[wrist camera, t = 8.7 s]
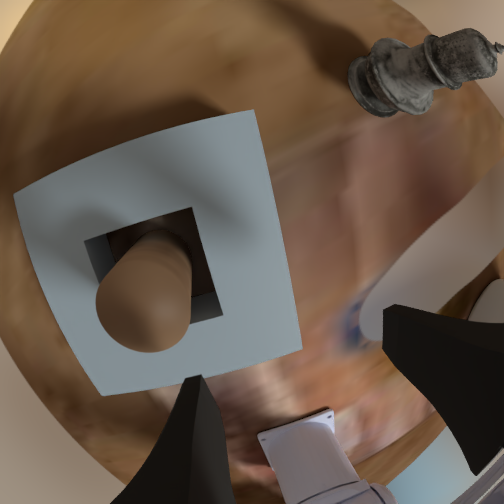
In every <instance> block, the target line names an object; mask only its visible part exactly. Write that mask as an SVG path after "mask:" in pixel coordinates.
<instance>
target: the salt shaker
mask: <svg viewBox="0 0 504 504" xmlns="http://www.w3.org/2000/svg"><path fill="white" fill-rule="evenodd" d="M503 51H504V46H503V45H501V44H498V43H497V42H495V45H492V44H491V43H490V42H489V41H488V40H487V39H486V38H485V37H484V36H483V35H482V34H481V33H480V32H478V31H477V30H474V29H471V28H467V29H462V30H459V31H456V32H453V33H451V34H448V35H445V36H442V37H440V38H439V37H438V36H435V35H428V36H426V37H425V39H424V43H421V44H419V45H417V46H414V47H412V48H410V47H409V46H407V45H406V44H405V43H403V42H401V41H399V40H396V39H392V38H382V39H380V40H378V41H377V42H375V43H374V45H373V47H372V48H371V52H370V53H369V55H368V56H362V57H358V58H356V59H355V60H354V61H352V63H351V64H350V66H349V69H348V83H349V86H350V89H351V91H352V93H353V95H354V97H355V99H356V100H357V101H358V102H359V104H360V105H361V106H362V107H363V108H364V109H365V110H367V111H368V112H370V113H371V114H373V115H375V116H379V117H390V116H392V115H395V114H396V113H397V112H398V111H402V112H406V113H409V114H411V115H421V114H423V113H425V112H427V110H428V109H429V108H430V107H431V104H432V101H433V92H434V91H433V90H435V89H439V88H443V87H448V88H450V89H451V90H458V89H460V87H461V86H462V82H466V81H471V80H477V79H483V78H489V77H492V76H493V75H495V73H496V71H497V53H500V54H502V52H503Z"/></svg>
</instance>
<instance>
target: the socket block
mask: <svg viewBox="0 0 504 504" xmlns="http://www.w3.org/2000/svg"><path fill="white" fill-rule="evenodd" d="M13 196H14V201H15V205H16V209H17V214H18V218H19V221H20V225H21V229H22V232H23V236H24V239H25V243H26V246H27V249H28V252H29V255H30V258H31V261H32V264H33V266H34V269H35V272H36V274H37V277H38V280H39V282H40V285H41V287H42V289H43V292H44V294H45V296H46V299H47V301H48V303H49V305H50V308H51V310H52V312H53V314H54V316H55V318H56V320H57V322H58V324H59V326H60V328H61V330H62V332H63V334H64V336H65V338H66V339H67V341H68V343H69V345H70V347H71V348H72V350H73V352H74V354H75V355H76V357H77V359H78V360H79V362H80V364H81V365H82V367H83V368H84V370H85V372H86V373H87V375H88V376H89V378H90V379H91V381H92V382H93V384H94V385H95V387H96V388H97V390H98V391H99V393H100V394H101V395H102V396H107V395H115V394H123V393H130V392H137V391H143V390H149V389H155V388H160V387H165V386H171V385H176V384H180V383H183V381H184V379H185V378H187V377H192V376H196V375H200V374H202V376H203V378H207V377H211V376H215V375H219V374H223V373H227V372H231V371H234V370H238V369H241V368H245V367H248V366H252V365H255V364H259V363H262V362H265V361H268V360H271V359H275V358H278V357H281V356H284V355H287V354H290V353H293V352H295V351H298V350H301V349H303V347H302V341H301V335H300V329H299V324H298V318H297V312H296V306H295V301H294V295H293V290H292V284H291V279H290V274H289V268H288V263H287V258H286V253H285V248H284V243H283V238H282V233H281V228H280V223H279V218H278V214H277V209H276V204H275V199H274V195H273V190H272V186H271V181H270V177H269V172H268V168H267V163H266V159H265V155H264V150H263V146H262V142H261V138H260V133H259V129H258V125H257V121H256V117H255V113H254V110H248V111H242V112H237V113H232V114H227V115H222V116H217V117H212V118H208V119H204V120H199V121H195V122H191V123H187V124H183V125H180V126H176V127H172V128H169V129H165V130H162V131H158V132H155V133H152V134H149V135H146V136H143V137H139V138H136V139H134V140H131V141H128V142H125V143H122V144H119V145H117V146H114V147H111V148H109V149H106V150H103V151H101V152H98V153H96V154H94V155H91V156H89V157H86V158H84V159H82V160H79V161H77V162H75V163H73V164H70V165H68V166H66V167H64V168H62V169H60V170H58V171H56V172H54V173H52V174H50V175H48V176H46V177H44V178H42V179H40V180H38V181H36V182H34V183H32V184H30V185H29V186H27V187H25V188H23V189H22V190H20V191H18V192H16V193H15V194H13ZM189 207H192V209H193V212H194V216H195V220H196V224H197V227H198V231H199V234H200V238H201V242H202V245H203V249H204V252H205V256H206V259H207V263H208V266H209V269H210V273H211V276H212V279H213V283H214V286H215V289H216V291H214V292H211V293H207V294H204V295H200V296H196V297H193V298H191V318H190V324H189V327H188V330H187V332H186V333H185V335H184V336H183V338H182V339H181V340H180V341H179V342H178V343H177V344H175V345H174V346H173V347H171V348H169V349H166V350H164V351H160V352H154V353H144V352H138V351H134V350H131V349H128V348H126V347H124V346H122V345H121V344H119V343H117V342H116V341H115V340H114V339H113V338H111V337H110V336H109V335H108V333H107V332H106V331H105V330H104V328H103V327H102V325H101V323H100V321H99V318H98V316H97V312H96V304H95V302H96V293H97V290H98V287H99V285H100V283H101V281H102V280H103V279H104V277H105V276H106V275H107V274H108V273H109V272H110V270H111V269H112V268H113V267H114V266H115V265H116V263H115V260H114V257H113V254H112V251H111V248H110V245H109V242H108V239H107V236H106V233H108V232H111V231H114V230H117V229H120V228H123V227H126V226H129V225H132V224H135V223H138V222H142V221H145V220H148V219H151V218H154V217H158V216H161V215H164V214H168V213H171V212H175V211H178V210H182V209H185V208H189Z"/></svg>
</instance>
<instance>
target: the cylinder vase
mask: <svg viewBox="0 0 504 504" xmlns="http://www.w3.org/2000/svg"><path fill="white" fill-rule="evenodd" d="M468 321H476V322H487V323H504V280H503V279H497V280H494V281H493V282H491V283H490V284H489V285H488V286H487V287H486V289H485V290H484V291H483V292H482V294H481V295H480V297H479V299H478V300H477V302H476V304H475V306H474V307H473V309H472V311H471V314H470V316H469V318H468Z"/></svg>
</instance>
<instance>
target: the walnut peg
mask: <svg viewBox="0 0 504 504" xmlns="http://www.w3.org/2000/svg"><path fill="white" fill-rule="evenodd" d="M191 281H192V255H191V251H190V249H189V247H188V245H187V244H186V242H185V241H184V240H183V239H182V238H181V237H180V236H178V235H177V234H175V233H173V232H170V231H167V230H154V231H151V232H148V233H146V234H144V235H143V236H142V237H141V238H139V239H138V241H137V242H136V243H135V244H134V245H133V246H132V247H131V248H130V249H129V250H128V251H127V252H126V254H125V255H124V256H123V257H122V258H121V259H120V260H119V261H118V262H117V264H116V265H115V266H114V267H113V268H112V269H111V270H110V272H109V273H108V274H107V275H106V276H105V277H104V279H103V280H102V281H101V283H100V285H99V287H98V290H97V293H96V302H95V304H96V312H97V316H98V318H99V321H100V323H101V325H102V327H103V328H104V330H105V331H106V332H107V333H108V335H109V336H110V337H111V338H113V339H114V340H115V341H116V342H117V343H119V344H121V345H122V346H124V347H126V348H128V349H131V350H134V351H138V352H144V353H154V352H160V351H164V350H166V349H169V348H171V347H173V346H174V345H175V344H177V343H178V342H179V341H180V340H181V339H182V338H183V336H184V335H185V333H186V332H187V330H188V327H189V324H190V318H191Z"/></svg>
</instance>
